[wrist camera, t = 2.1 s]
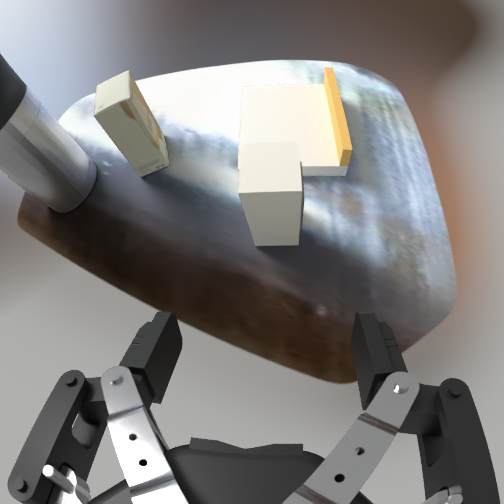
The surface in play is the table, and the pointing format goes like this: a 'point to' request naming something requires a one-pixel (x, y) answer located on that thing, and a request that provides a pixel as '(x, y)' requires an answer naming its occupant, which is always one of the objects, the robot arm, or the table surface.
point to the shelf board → (300, 123)
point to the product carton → (272, 191)
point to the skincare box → (130, 124)
